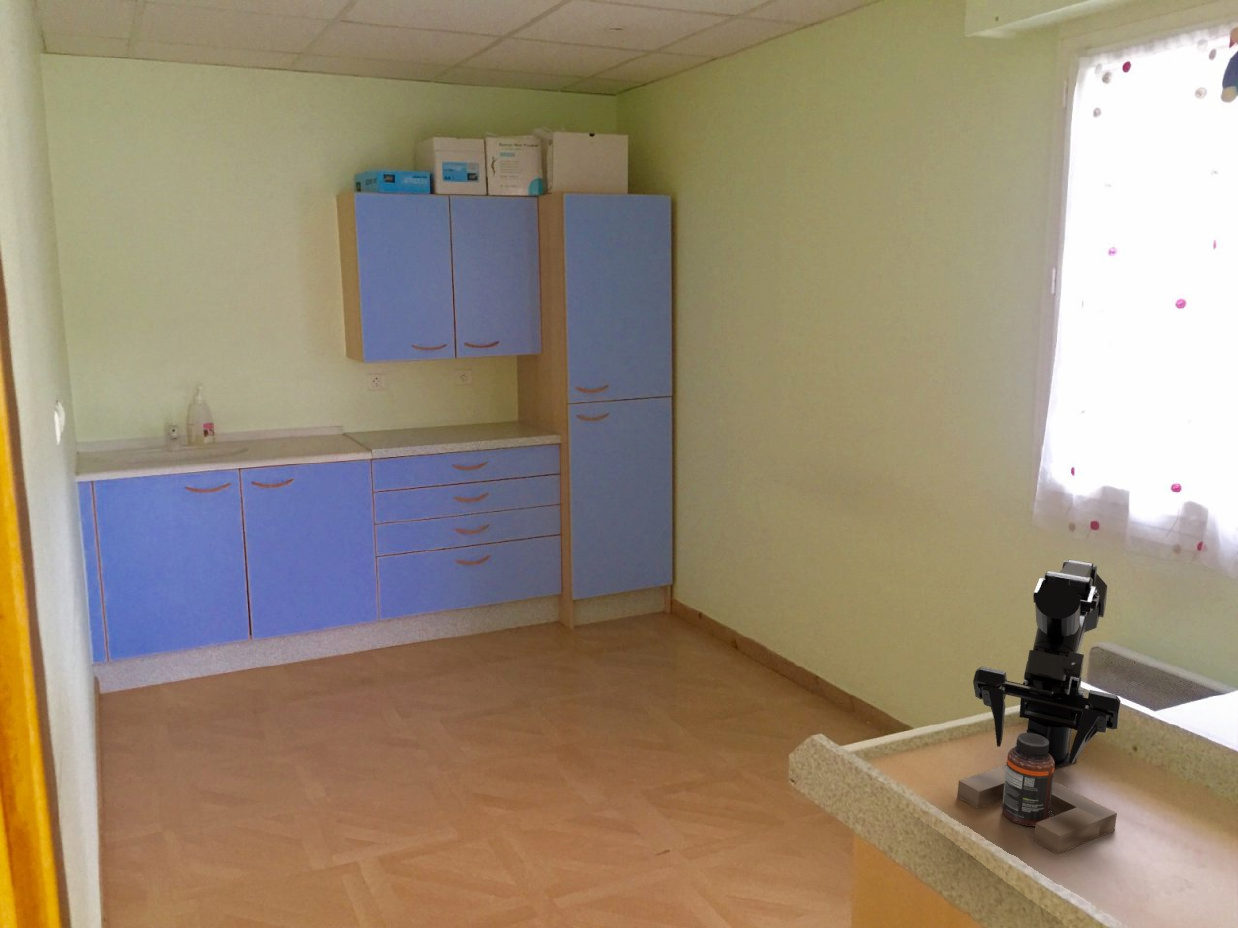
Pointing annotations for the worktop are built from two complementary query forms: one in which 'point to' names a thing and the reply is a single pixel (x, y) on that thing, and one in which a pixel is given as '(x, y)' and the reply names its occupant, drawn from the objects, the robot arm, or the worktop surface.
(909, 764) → the worktop surface
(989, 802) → the notched board
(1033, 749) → the supplement bottle
